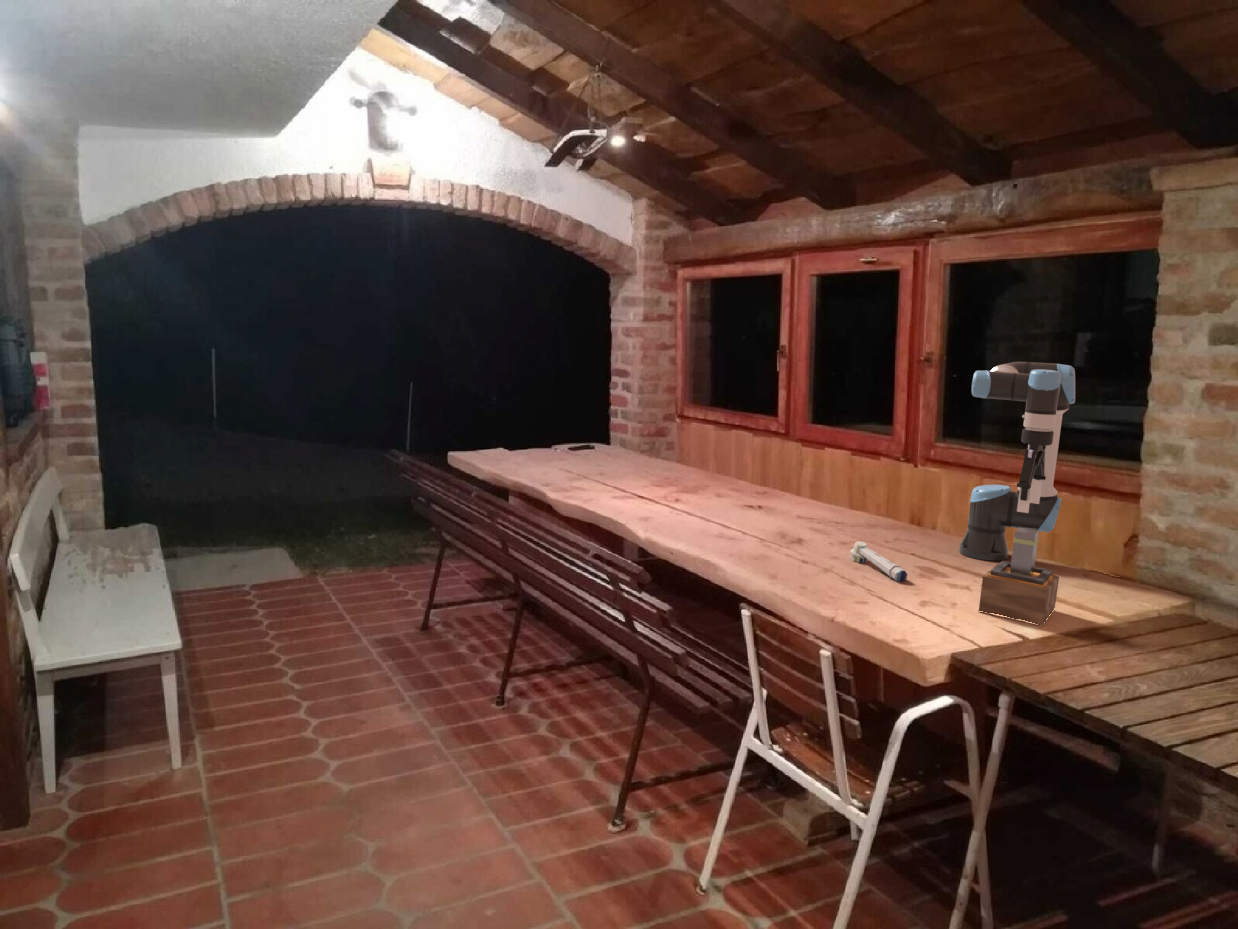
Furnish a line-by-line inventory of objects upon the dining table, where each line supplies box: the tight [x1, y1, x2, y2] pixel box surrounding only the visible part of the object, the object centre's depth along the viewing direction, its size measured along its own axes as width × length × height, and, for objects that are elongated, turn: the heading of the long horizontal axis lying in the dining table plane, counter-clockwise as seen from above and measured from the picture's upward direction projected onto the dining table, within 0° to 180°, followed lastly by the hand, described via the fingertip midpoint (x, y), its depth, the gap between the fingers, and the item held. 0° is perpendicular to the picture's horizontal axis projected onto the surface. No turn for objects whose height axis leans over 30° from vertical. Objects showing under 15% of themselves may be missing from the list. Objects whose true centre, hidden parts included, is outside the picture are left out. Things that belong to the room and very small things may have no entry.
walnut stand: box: [978, 560, 1060, 627], centre depth 246 cm, size 16×16×12 cm
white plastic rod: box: [850, 540, 908, 583], centre depth 280 cm, size 5×7×25 cm
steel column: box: [1010, 528, 1040, 577], centre depth 244 cm, size 5×5×12 cm
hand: (1028, 507), depth 244 cm, fingers open, 13 cm apart
